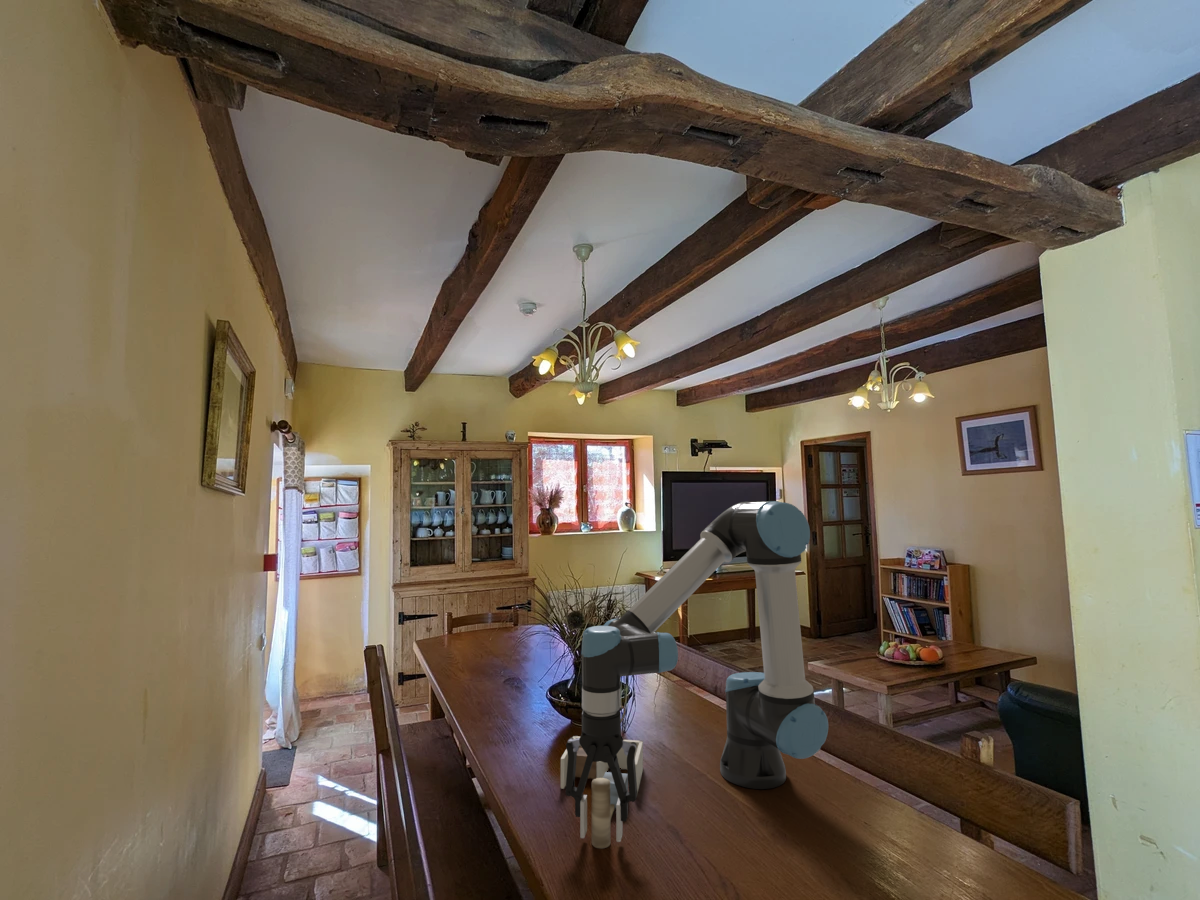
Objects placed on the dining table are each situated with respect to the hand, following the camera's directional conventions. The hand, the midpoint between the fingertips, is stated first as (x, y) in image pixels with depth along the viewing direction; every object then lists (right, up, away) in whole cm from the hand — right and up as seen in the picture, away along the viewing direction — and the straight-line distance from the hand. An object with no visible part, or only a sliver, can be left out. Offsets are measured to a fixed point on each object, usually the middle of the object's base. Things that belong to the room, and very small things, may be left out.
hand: (601, 835), depth 110 cm
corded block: (+1, -2, +8) cm, 8 cm away
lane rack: (0, -4, +26) cm, 26 cm away
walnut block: (-3, -4, +29) cm, 29 cm away
